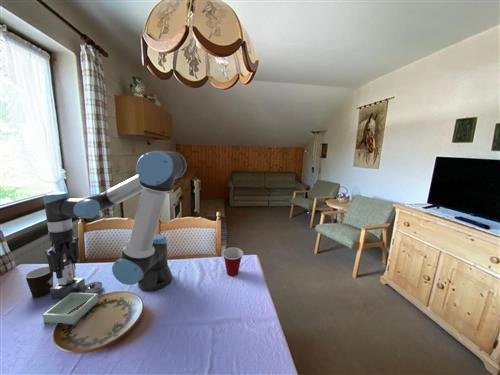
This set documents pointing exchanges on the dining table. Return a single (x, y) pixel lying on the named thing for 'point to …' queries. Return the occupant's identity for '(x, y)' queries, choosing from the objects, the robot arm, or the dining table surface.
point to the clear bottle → (68, 272)
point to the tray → (70, 308)
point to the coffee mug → (40, 281)
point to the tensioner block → (67, 289)
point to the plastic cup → (232, 260)
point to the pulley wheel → (92, 288)
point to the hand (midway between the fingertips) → (67, 280)
